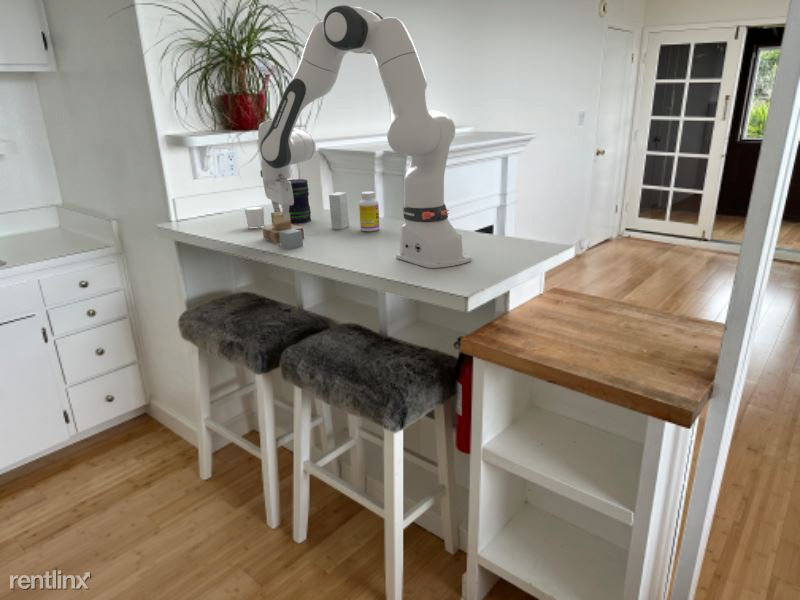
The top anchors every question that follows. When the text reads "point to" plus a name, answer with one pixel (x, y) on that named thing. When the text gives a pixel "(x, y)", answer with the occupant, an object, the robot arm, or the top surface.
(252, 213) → the shot glass
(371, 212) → the supplement bottle
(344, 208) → the skincare box
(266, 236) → the walnut block
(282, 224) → the oak cube
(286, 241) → the grey cube
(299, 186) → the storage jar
